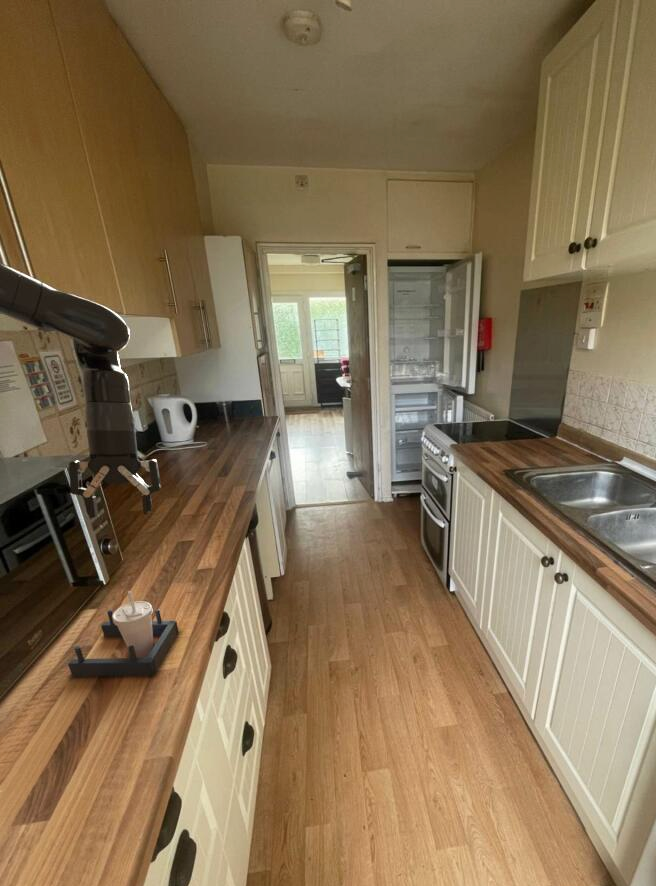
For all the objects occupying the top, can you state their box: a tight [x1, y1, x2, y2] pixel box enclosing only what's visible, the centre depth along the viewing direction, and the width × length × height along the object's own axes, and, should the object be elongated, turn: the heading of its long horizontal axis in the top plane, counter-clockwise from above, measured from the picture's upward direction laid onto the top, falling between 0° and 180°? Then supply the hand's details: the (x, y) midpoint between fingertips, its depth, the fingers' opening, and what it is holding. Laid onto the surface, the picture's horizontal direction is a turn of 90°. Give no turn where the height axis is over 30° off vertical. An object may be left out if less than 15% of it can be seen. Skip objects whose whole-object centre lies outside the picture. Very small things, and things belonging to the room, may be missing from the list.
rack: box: [67, 608, 180, 678], centre depth 80 cm, size 14×12×6 cm
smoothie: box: [112, 590, 154, 658], centre depth 78 cm, size 6×6×14 cm
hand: (121, 515), depth 81 cm, fingers open, 8 cm apart
